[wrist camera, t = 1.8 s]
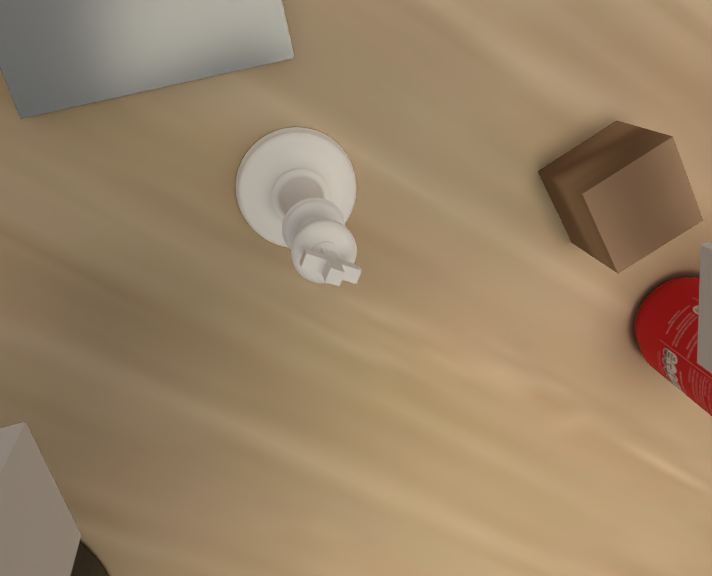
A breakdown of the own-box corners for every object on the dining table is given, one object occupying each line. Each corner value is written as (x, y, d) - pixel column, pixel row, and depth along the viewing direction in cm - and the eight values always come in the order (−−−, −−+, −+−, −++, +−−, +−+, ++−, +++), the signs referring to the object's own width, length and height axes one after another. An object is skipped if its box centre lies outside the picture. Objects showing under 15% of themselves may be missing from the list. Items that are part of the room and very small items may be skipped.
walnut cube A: (571, 242, 31) (617, 273, 27) (537, 170, 29) (582, 194, 25) (645, 195, 30) (702, 220, 27) (616, 120, 29) (672, 136, 25)
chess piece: (330, 258, 29) (381, 374, 20) (219, 224, 27) (219, 331, 18) (373, 151, 27) (450, 222, 18) (258, 108, 26) (279, 162, 17)
